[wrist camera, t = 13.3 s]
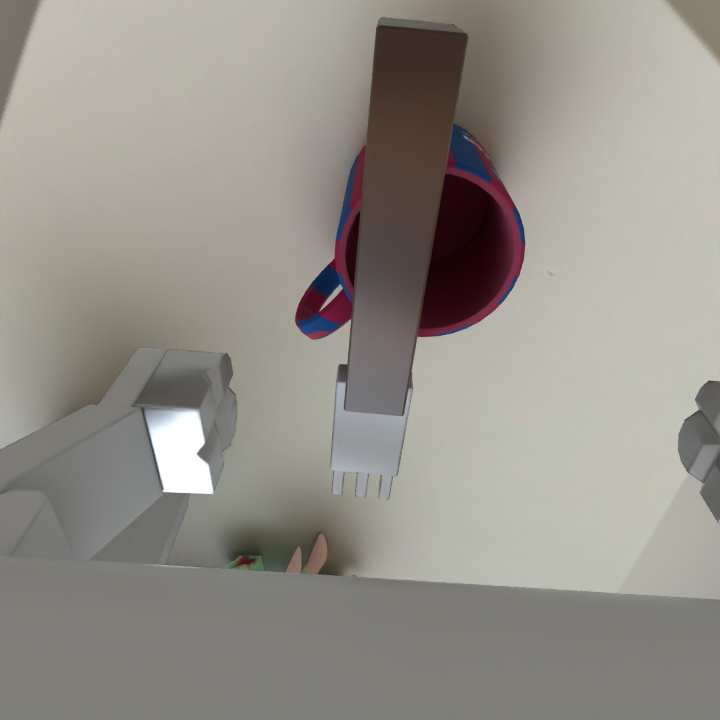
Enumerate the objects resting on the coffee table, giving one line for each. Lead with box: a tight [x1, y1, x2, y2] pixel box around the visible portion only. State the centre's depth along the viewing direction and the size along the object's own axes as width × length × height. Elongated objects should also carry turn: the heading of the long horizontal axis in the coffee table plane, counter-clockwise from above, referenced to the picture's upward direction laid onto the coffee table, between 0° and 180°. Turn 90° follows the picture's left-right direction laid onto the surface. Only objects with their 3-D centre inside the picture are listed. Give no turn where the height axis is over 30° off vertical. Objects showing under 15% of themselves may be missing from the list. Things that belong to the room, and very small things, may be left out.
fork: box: [330, 17, 468, 500], centre depth 20 cm, size 19×3×3 cm, turn 175°
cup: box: [295, 124, 525, 339], centre depth 23 cm, size 7×10×7 cm
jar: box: [89, 492, 189, 565], centre depth 29 cm, size 10×10×18 cm
